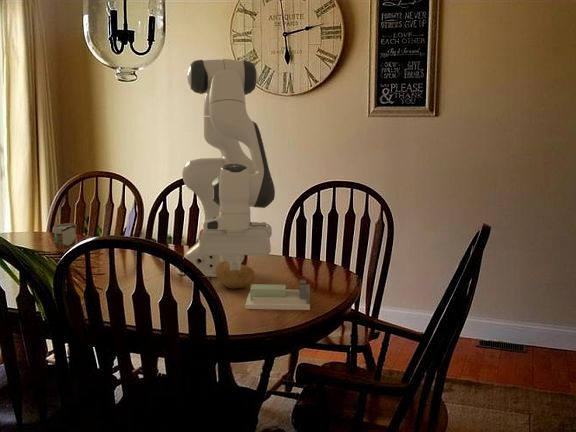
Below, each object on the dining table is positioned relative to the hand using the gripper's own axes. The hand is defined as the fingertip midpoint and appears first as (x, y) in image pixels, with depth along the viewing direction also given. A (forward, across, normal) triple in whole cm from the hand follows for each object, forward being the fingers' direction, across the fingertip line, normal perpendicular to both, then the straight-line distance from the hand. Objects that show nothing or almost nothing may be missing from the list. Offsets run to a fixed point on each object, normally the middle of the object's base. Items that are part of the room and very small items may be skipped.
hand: (235, 270), depth 174 cm
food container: (+8, +75, -65) cm, 99 cm away
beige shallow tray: (+10, -12, -1) cm, 16 cm away
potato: (+10, +2, -16) cm, 19 cm away
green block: (+9, -9, -1) cm, 13 cm away
